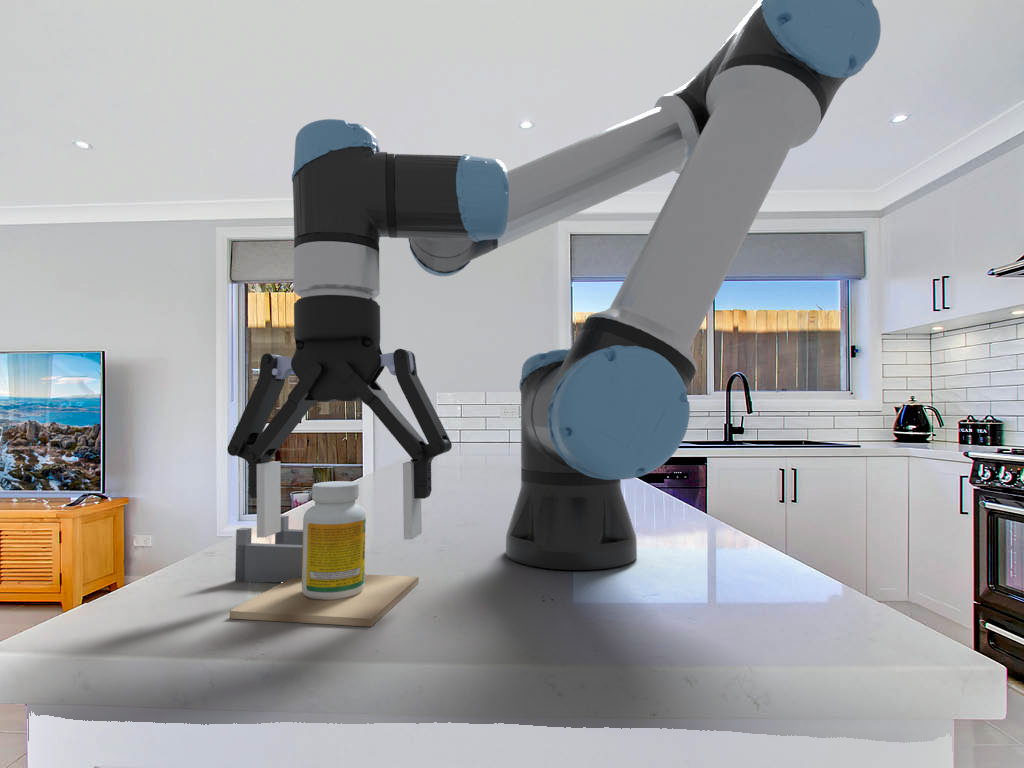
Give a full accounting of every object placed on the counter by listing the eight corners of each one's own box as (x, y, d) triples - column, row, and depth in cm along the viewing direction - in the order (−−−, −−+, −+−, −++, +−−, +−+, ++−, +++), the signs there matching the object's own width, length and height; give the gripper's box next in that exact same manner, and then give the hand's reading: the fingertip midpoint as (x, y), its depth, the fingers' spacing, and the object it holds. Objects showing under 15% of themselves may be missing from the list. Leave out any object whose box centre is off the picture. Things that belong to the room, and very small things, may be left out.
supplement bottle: (293, 590, 54) (295, 482, 55) (349, 580, 58) (351, 478, 58) (315, 605, 50) (317, 488, 50) (374, 593, 53) (376, 484, 54)
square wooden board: (418, 583, 59) (418, 576, 59) (371, 626, 47) (371, 618, 47) (302, 577, 60) (302, 571, 60) (229, 618, 49) (229, 610, 49)
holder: (347, 563, 66) (347, 517, 66) (311, 584, 58) (312, 532, 58) (279, 560, 67) (280, 515, 68) (235, 580, 59) (236, 529, 60)
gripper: (480, 300, 57) (484, 528, 56) (236, 312, 60) (236, 525, 60) (462, 284, 49) (466, 546, 48) (184, 298, 53) (184, 542, 52)
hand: (339, 535), depth 54 cm, fingers open, 13 cm apart
